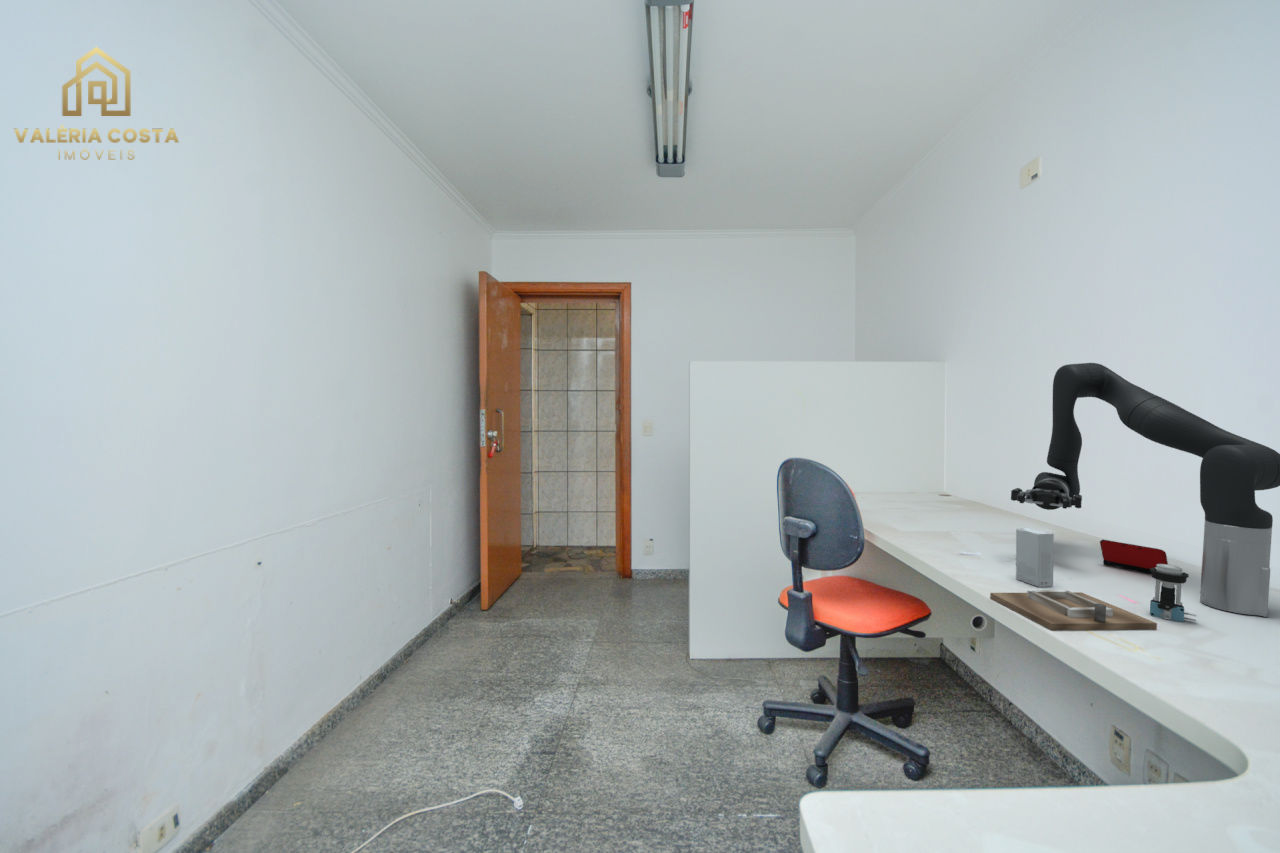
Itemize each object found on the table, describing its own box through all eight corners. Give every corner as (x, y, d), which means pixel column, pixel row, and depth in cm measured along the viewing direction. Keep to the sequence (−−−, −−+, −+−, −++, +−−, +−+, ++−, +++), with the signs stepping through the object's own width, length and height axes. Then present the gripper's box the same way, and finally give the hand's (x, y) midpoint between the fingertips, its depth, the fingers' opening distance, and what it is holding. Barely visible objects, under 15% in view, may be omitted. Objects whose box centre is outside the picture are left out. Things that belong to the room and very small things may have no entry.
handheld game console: (1177, 574, 134) (1179, 544, 133) (1163, 581, 128) (1165, 550, 128) (1113, 561, 144) (1114, 533, 144) (1097, 567, 138) (1099, 538, 138)
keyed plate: (1081, 598, 115) (1082, 578, 115) (1156, 629, 99) (1157, 606, 99) (990, 598, 114) (991, 578, 114) (1051, 630, 98) (1052, 607, 98)
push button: (1194, 619, 104) (1198, 568, 104) (1197, 627, 100) (1200, 574, 100) (1147, 610, 109) (1150, 560, 108) (1147, 617, 105) (1150, 566, 104)
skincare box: (1054, 586, 122) (1056, 533, 122) (1037, 587, 121) (1040, 534, 121) (1029, 577, 128) (1031, 527, 128) (1013, 579, 127) (1015, 527, 127)
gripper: (1018, 476, 149) (1008, 482, 137) (1085, 482, 139) (1081, 490, 127) (1017, 503, 149) (1006, 512, 137) (1083, 511, 140) (1079, 521, 128)
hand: (1042, 501), depth 132 cm, fingers open, 8 cm apart
